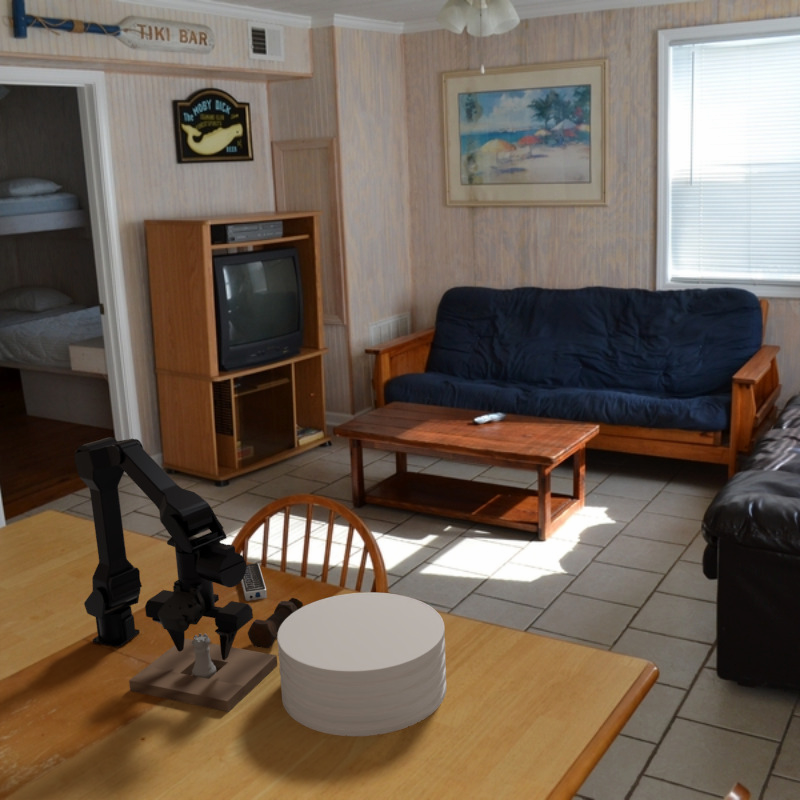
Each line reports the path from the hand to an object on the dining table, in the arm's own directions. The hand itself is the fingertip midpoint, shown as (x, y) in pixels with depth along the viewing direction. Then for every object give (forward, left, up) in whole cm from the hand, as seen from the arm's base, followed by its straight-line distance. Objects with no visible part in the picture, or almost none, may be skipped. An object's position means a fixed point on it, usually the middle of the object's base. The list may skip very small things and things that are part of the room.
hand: (202, 654), depth 172 cm
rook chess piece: (0, 0, -5) cm, 5 cm away
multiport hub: (-12, +36, -5) cm, 38 cm away
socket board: (0, 0, -4) cm, 4 cm away
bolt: (+4, +20, -5) cm, 21 cm away
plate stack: (+28, +6, -5) cm, 29 cm away
